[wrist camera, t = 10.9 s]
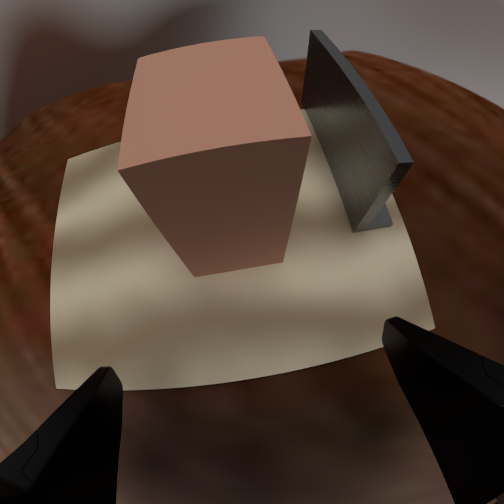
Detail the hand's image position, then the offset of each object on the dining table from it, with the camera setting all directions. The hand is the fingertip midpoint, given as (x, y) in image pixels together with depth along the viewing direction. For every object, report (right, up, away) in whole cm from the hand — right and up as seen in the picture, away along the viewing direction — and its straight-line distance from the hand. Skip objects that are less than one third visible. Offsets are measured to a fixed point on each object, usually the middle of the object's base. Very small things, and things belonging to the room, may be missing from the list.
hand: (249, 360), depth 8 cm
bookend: (+6, +10, +10) cm, 15 cm away
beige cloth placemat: (-2, +5, +10) cm, 11 cm away
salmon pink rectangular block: (-1, +5, +9) cm, 10 cm away
